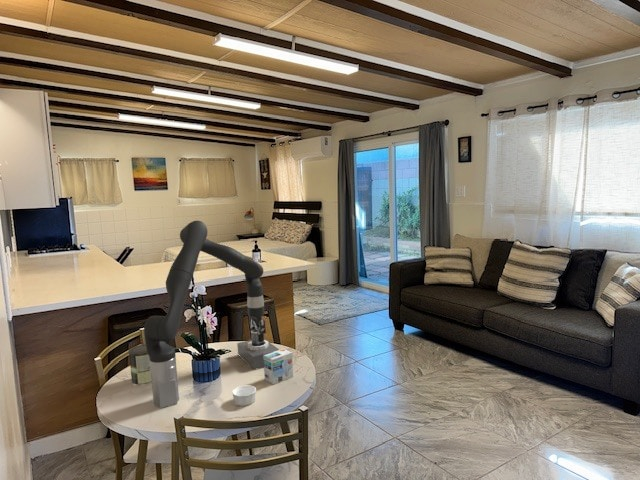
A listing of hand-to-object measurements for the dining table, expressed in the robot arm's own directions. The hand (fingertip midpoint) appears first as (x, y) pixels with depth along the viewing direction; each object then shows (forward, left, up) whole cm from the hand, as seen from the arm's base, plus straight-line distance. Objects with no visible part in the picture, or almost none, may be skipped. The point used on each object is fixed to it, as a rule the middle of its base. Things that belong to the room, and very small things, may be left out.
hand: (257, 339), depth 201 cm
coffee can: (+7, +49, -10) cm, 50 cm away
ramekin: (-34, +20, -10) cm, 41 cm away
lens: (0, 0, -4) cm, 4 cm away
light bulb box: (-24, +1, -10) cm, 26 cm away
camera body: (0, 0, -10) cm, 10 cm away
